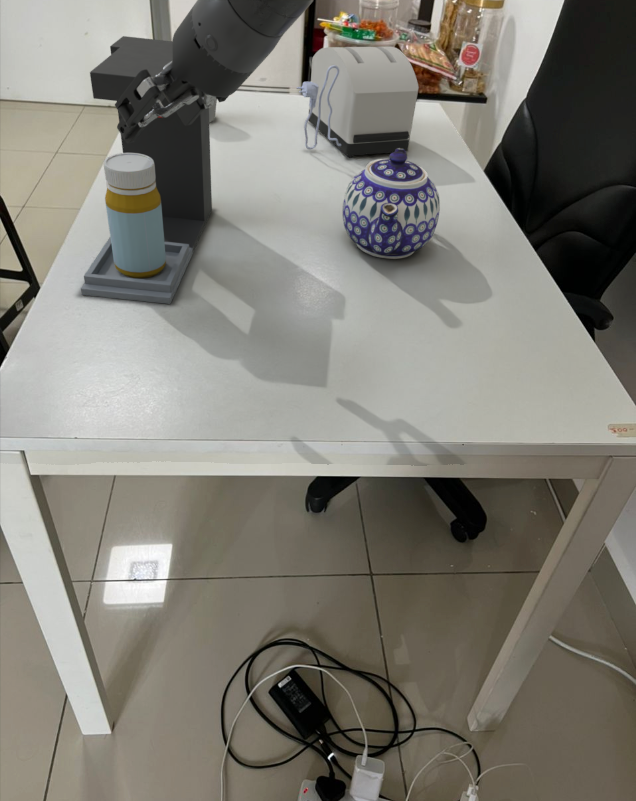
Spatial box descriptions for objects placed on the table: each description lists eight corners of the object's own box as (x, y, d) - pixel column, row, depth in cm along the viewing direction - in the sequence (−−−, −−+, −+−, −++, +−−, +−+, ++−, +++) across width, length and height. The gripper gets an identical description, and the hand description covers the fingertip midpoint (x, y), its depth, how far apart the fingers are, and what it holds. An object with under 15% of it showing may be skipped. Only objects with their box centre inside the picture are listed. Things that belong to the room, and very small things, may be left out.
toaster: (412, 156, 134) (429, 65, 122) (301, 165, 126) (308, 68, 114) (364, 118, 150) (375, 34, 138) (262, 124, 141) (264, 35, 130)
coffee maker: (170, 304, 86) (153, 104, 69) (81, 294, 86) (43, 92, 69) (212, 210, 108) (206, 41, 91) (140, 202, 108) (122, 32, 91)
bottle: (131, 285, 87) (117, 177, 77) (106, 263, 91) (89, 157, 81) (175, 271, 91) (168, 166, 81) (149, 250, 94) (139, 147, 84)
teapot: (353, 205, 114) (363, 118, 104) (436, 219, 112) (455, 132, 103) (324, 273, 95) (333, 176, 86) (423, 291, 94) (445, 194, 84)
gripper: (258, -13, 64) (182, 83, 76) (149, 1, 55) (82, 108, 67) (297, 58, 65) (216, 141, 77) (196, 84, 56) (123, 173, 68)
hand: (154, 126), depth 72 cm, fingers open, 8 cm apart
